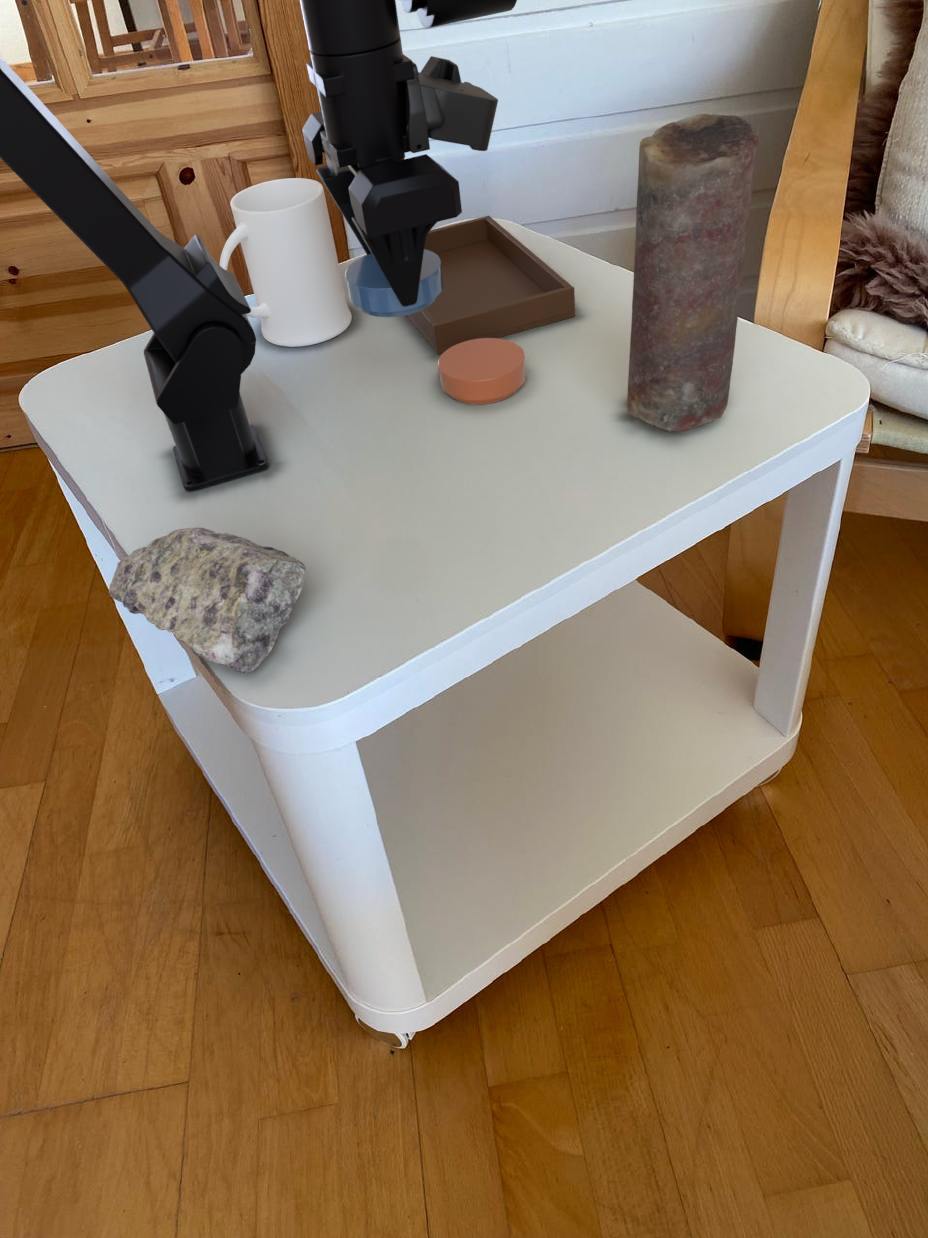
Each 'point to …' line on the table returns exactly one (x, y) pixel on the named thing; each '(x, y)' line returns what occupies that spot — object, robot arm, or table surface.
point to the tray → (489, 286)
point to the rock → (212, 593)
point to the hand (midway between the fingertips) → (395, 285)
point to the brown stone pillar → (689, 267)
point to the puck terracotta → (482, 370)
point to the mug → (290, 261)
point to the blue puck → (378, 295)
